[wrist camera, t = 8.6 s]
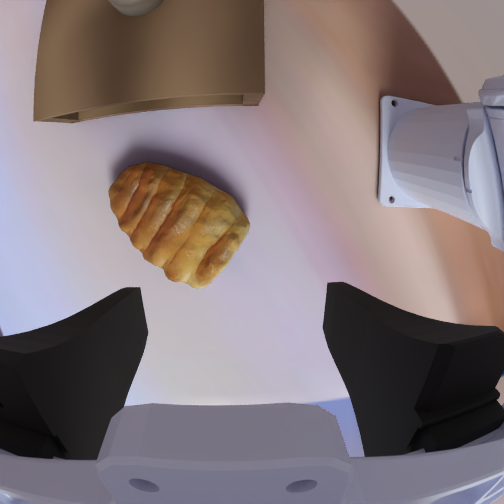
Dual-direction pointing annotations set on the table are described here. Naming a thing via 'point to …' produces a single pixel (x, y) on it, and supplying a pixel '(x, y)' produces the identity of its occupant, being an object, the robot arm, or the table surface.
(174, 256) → the pastry
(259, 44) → the cover
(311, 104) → the table surface
